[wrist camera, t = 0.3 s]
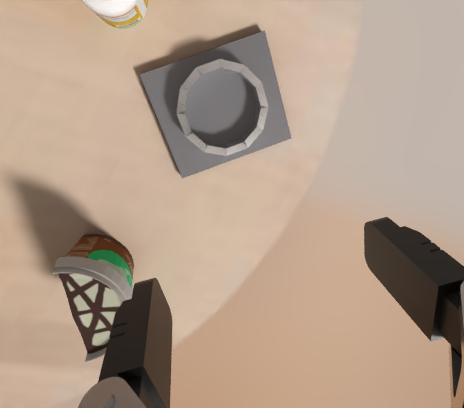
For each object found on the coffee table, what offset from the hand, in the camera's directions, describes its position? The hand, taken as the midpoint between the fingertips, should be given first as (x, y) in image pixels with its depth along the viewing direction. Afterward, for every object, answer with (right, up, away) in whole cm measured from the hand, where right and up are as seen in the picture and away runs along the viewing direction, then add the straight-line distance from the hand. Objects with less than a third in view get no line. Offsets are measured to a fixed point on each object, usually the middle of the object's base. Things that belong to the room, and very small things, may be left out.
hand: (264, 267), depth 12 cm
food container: (-16, -5, +29) cm, 34 cm away
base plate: (-3, +13, +24) cm, 28 cm away
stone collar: (-3, +13, +24) cm, 28 cm away
